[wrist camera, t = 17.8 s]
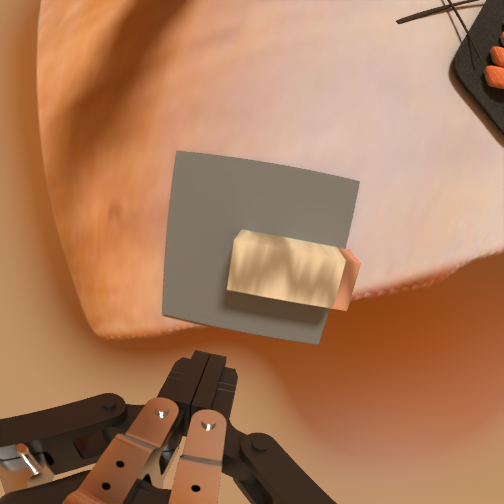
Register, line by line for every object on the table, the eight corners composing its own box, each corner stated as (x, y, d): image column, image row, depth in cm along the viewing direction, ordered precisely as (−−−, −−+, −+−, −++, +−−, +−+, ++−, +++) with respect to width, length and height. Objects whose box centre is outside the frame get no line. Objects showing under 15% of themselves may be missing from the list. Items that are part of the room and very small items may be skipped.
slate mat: (178, 151, 30) (176, 150, 30) (358, 181, 29) (359, 181, 29) (163, 311, 36) (162, 313, 35) (317, 342, 35) (318, 344, 34)
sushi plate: (507, 150, 26) (524, 150, 22) (340, -5, 23) (345, -20, 20) (543, 49, 18) (555, 46, 14) (417, -68, 15) (424, -79, 12)
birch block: (234, 239, 27) (360, 263, 26) (241, 229, 31) (349, 249, 31) (226, 289, 28) (346, 310, 27) (234, 272, 33) (338, 291, 32)
